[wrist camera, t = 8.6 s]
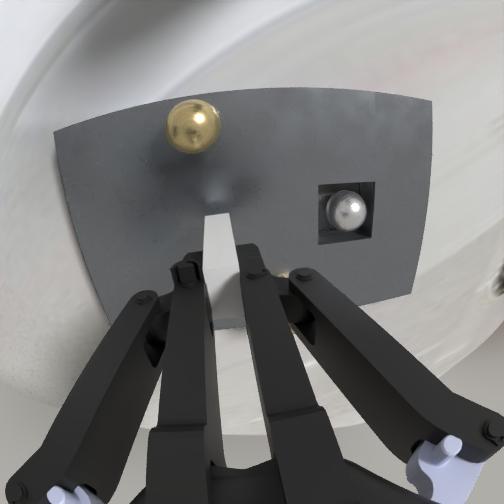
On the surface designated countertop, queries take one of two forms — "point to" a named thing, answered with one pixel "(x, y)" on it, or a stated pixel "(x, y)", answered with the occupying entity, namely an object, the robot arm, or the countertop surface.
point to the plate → (252, 189)
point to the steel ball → (346, 210)
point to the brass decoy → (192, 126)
